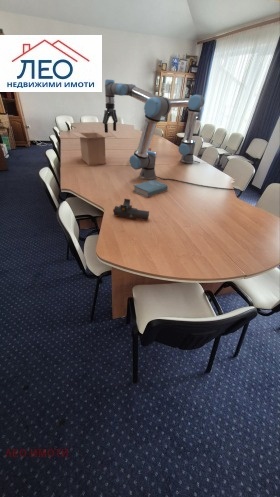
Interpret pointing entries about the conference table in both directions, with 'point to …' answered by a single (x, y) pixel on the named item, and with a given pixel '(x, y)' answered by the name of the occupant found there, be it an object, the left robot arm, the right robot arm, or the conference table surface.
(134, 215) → the laser sight
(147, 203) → the conference table surface
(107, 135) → the box
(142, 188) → the book
